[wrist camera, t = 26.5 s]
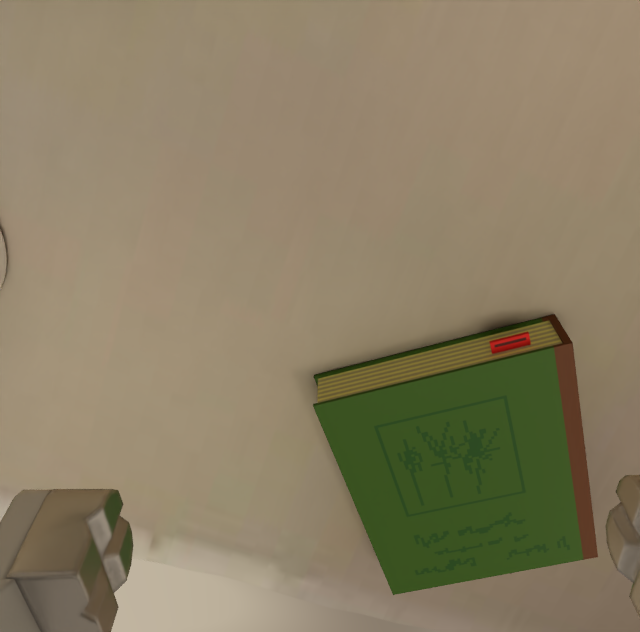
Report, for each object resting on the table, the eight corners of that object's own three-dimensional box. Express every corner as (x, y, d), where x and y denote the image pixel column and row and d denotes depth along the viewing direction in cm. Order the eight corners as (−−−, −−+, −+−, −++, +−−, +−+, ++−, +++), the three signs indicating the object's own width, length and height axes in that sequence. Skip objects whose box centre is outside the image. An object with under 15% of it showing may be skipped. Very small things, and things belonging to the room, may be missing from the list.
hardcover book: (582, 522, 57) (597, 556, 53) (389, 559, 60) (393, 594, 57) (553, 306, 44) (571, 334, 41) (310, 367, 47) (310, 398, 44)
